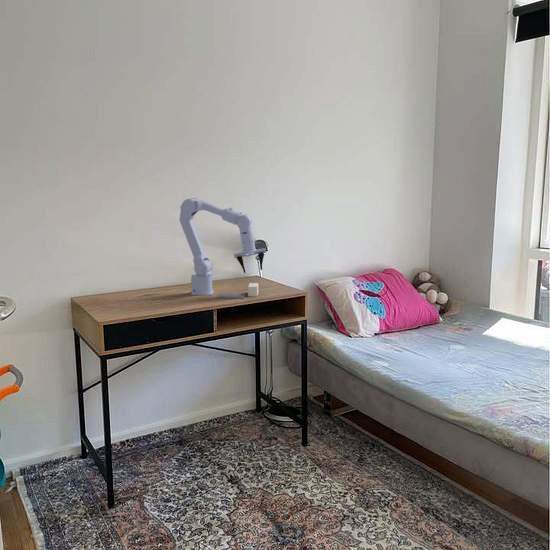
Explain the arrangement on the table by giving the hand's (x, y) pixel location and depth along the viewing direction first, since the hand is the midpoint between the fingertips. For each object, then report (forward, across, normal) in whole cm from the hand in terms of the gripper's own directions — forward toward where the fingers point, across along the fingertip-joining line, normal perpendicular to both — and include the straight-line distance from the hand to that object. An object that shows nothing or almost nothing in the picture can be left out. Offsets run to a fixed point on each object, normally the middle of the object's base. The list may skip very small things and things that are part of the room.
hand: (253, 271), depth 248 cm
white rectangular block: (+11, -2, 0) cm, 11 cm away
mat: (+9, -12, -2) cm, 15 cm away
